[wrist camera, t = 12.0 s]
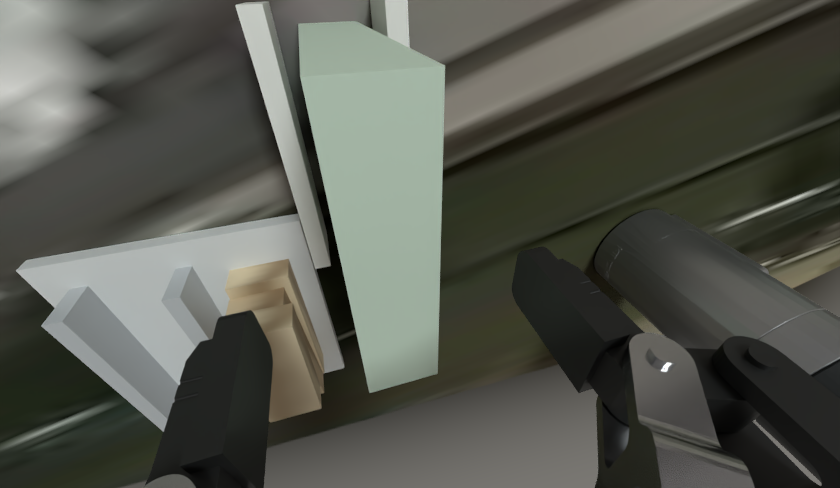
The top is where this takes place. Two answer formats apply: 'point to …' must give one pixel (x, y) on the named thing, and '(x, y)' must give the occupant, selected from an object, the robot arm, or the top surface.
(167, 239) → the grey rack
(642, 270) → the robot arm
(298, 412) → the offcut stack
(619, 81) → the top surface
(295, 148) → the white stand
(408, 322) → the sage board
